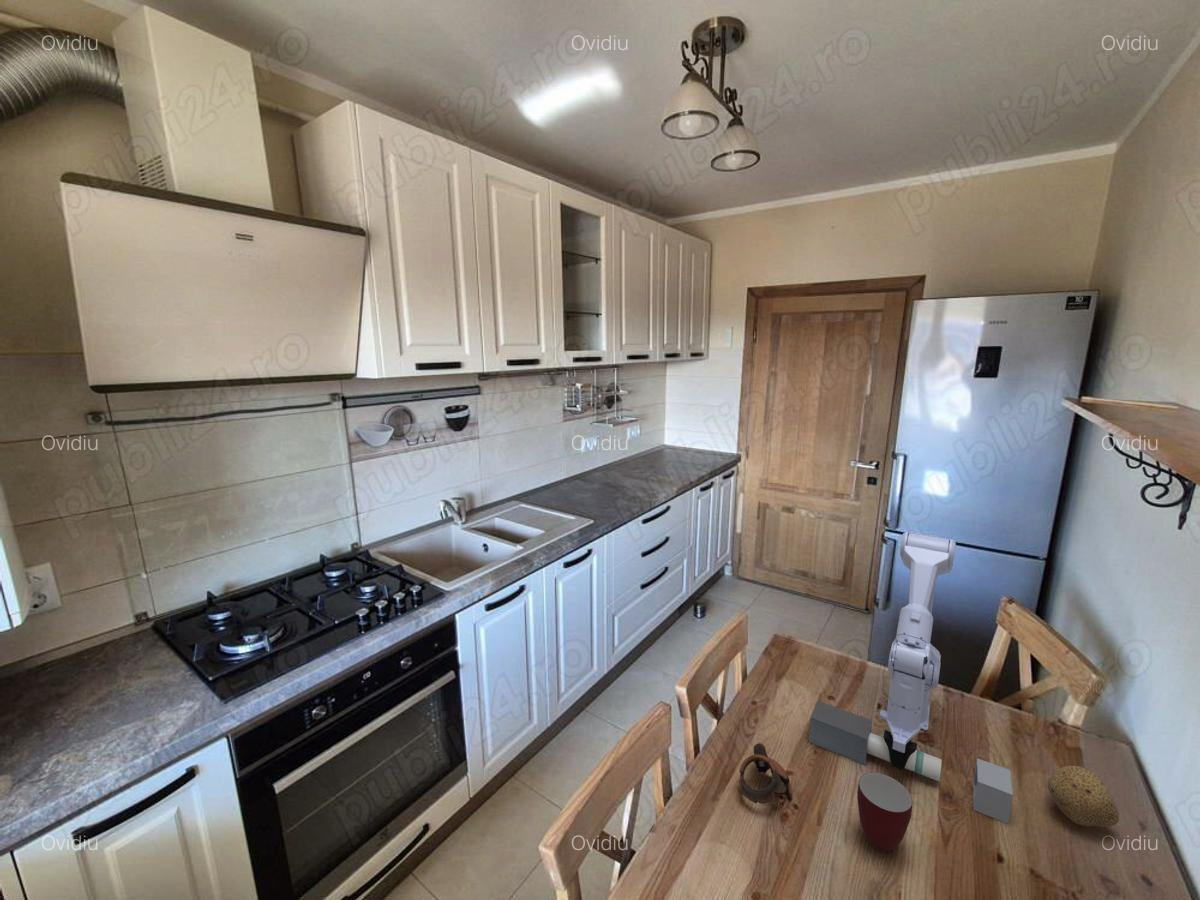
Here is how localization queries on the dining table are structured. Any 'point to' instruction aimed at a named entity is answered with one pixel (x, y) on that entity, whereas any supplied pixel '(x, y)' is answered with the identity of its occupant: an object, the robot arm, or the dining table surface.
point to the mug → (883, 810)
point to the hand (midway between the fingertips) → (898, 759)
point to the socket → (992, 790)
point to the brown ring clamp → (764, 765)
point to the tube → (916, 761)
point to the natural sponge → (1083, 797)
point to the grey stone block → (840, 732)
